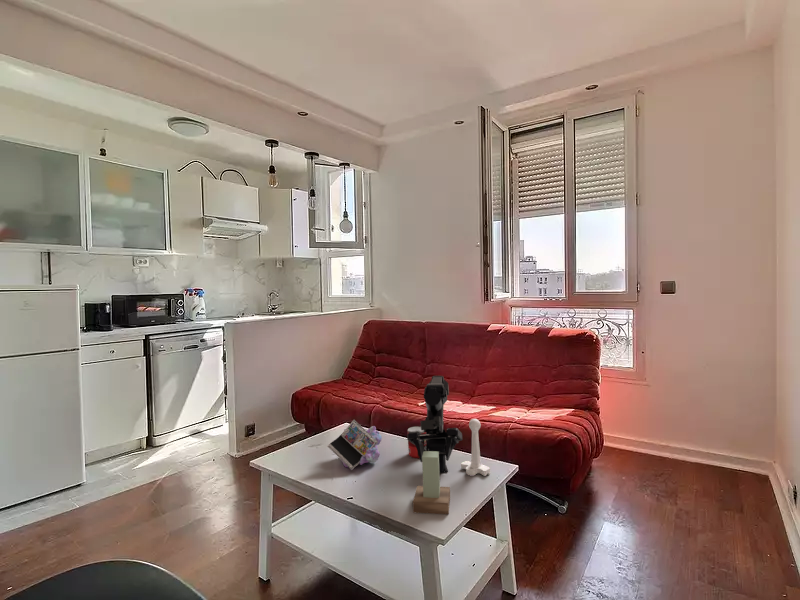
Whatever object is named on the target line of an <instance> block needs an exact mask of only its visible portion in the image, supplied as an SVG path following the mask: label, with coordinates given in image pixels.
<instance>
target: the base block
mask: <svg viewBox="0 0 800 600" xmlns="http://www.w3.org/2000/svg"><path fill="white" fill-rule="evenodd" d="M414 493H415V494H414V497H413V501H412V510H413V513H414V514H433V515H434V514H438V515H449V514H450V505H451V504H450V502H451V487H450V486H440V495H439V498H427V497H423V485H417V486H416V489H415V492H414Z"/></svg>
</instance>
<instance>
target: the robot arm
mask: <svg viewBox="0 0 800 600" xmlns="http://www.w3.org/2000/svg"><path fill="white" fill-rule="evenodd" d="M449 388H450V387H449V382H448V381H447V380H445V378H444V376H443V375H433V376H431V380H430V381H429V383H427V384H426V387H424V390H423V399H424V402H425V406H426V417H425V419H424V420H420V427H421V430H424V432H426V434H421V433H419V432H418V431H414V432H409V433H408V432H407V434H406V435H407V436H406V437H407V438H406V440H407V441H408V440H409V441H410V442H411V443H412V444H414V445H415V446H416V448H417V451H418V455H419V458H418V459H419V460H420V461H419V462H421V463H422V455H423V451H424V444H422V442H423V440H426V449H427V451H437V452H439V472H440V473H448V472H449V470H448V467H447V462H448V461H449V459H450V457H451V455H452V453H453V450H454V449H455V447H456V445H457V444H459V443H460V441H461V442H462V441H463V433H462V432H461V431H460V430H459V428H457V427H451V428H450V427H449V428H447V429H446V430H445V429H444V423H445V422H444V405H445V404H446V402H447V401H448V396H450V389H449Z"/></svg>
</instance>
